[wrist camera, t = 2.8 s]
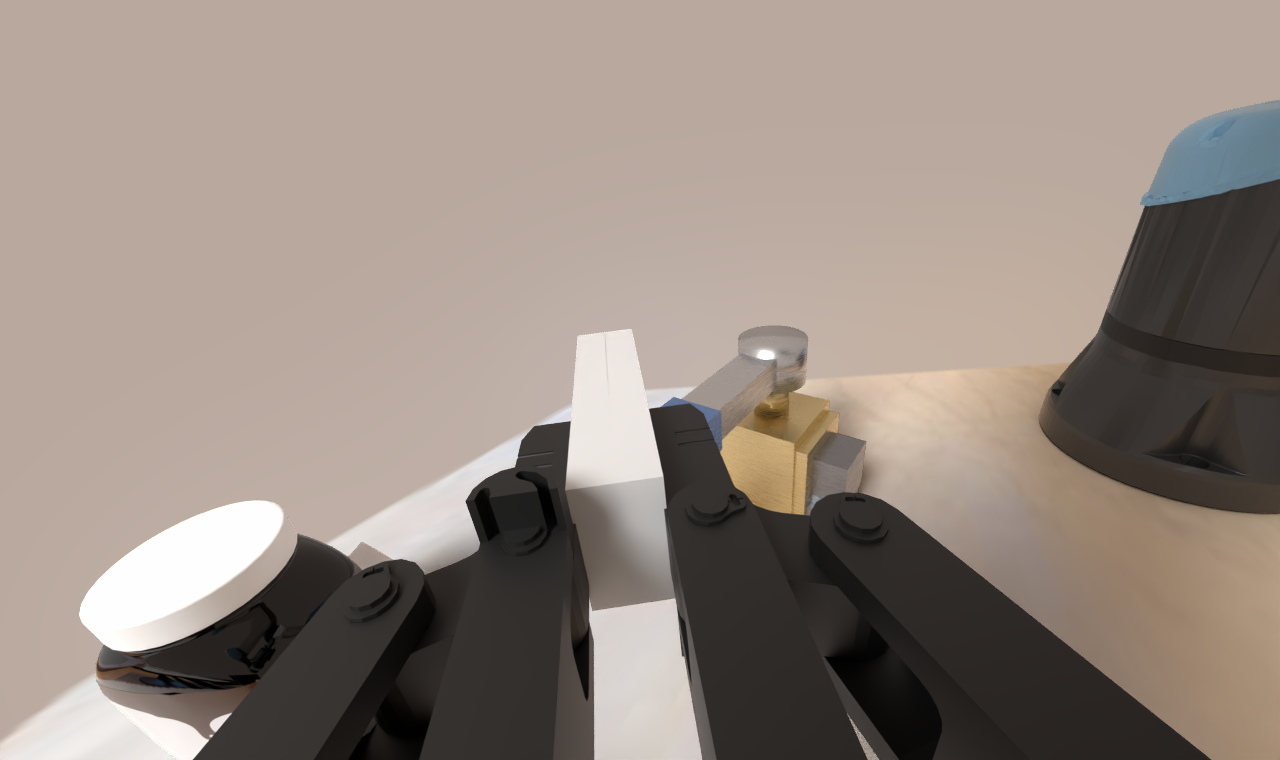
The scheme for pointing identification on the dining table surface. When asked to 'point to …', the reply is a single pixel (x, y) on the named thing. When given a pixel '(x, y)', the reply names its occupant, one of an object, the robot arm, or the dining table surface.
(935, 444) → the dining table surface
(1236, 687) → the dining table surface
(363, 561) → the spread jar
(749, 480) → the valve body
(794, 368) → the lever
